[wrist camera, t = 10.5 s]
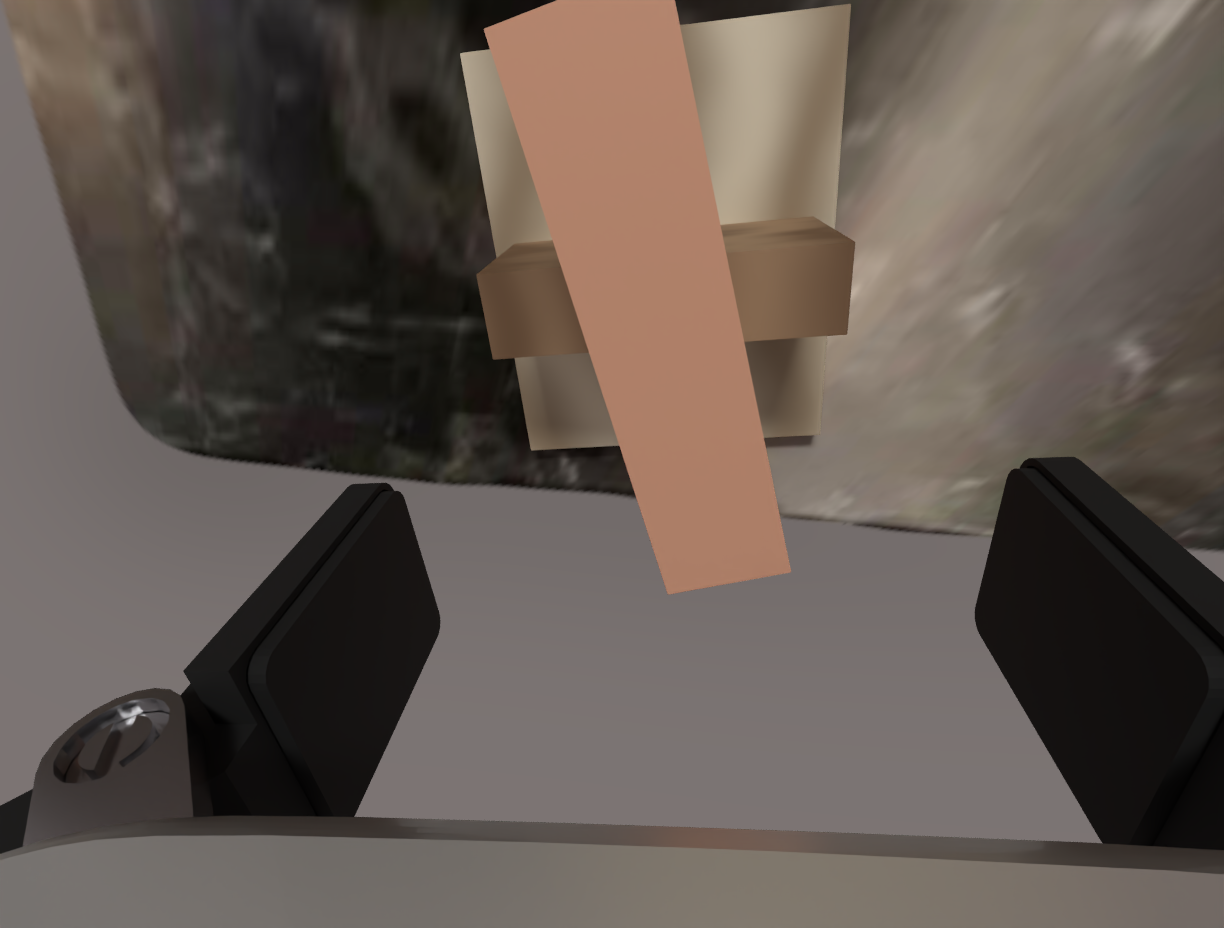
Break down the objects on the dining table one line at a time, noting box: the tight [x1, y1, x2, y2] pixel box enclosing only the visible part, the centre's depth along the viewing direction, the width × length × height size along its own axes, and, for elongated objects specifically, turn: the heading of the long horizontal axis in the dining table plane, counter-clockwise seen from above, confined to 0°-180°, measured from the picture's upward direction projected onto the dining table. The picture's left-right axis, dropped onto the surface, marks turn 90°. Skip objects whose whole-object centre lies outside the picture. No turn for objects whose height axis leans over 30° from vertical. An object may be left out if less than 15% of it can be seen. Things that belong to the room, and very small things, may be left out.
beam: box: [484, 0, 791, 594], centre depth 21 cm, size 4×18×6 cm, turn 17°
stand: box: [460, 4, 855, 450], centre depth 27 cm, size 16×19×8 cm
